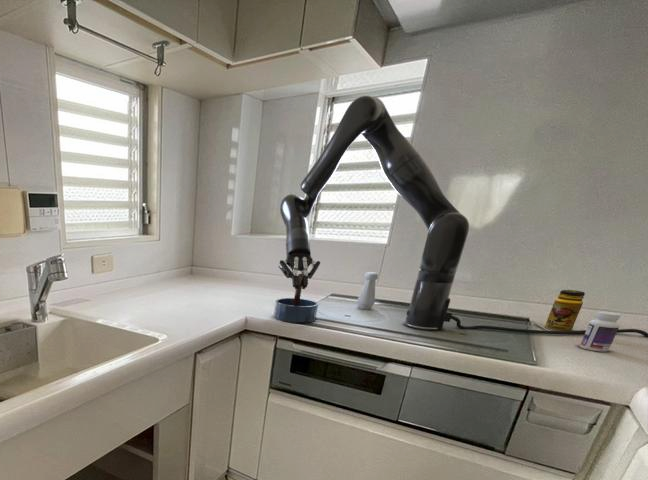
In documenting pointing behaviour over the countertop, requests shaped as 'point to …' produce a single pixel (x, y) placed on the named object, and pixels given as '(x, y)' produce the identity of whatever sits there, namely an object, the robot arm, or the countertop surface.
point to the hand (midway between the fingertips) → (300, 287)
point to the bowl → (295, 310)
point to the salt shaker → (368, 291)
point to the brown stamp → (298, 290)
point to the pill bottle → (601, 332)
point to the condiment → (564, 311)
